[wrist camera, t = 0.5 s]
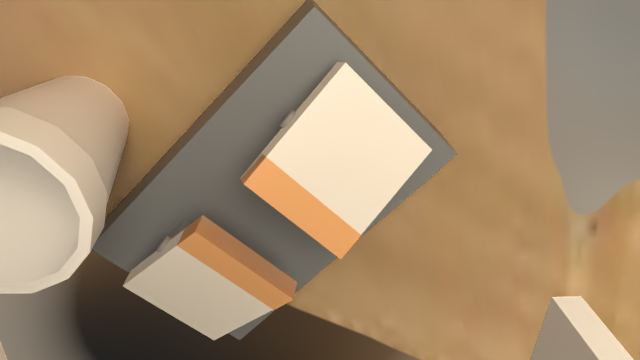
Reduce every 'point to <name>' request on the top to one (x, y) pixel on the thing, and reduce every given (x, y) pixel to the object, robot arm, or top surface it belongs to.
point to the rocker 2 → (336, 160)
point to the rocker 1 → (210, 280)
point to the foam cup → (55, 177)
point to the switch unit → (255, 156)
